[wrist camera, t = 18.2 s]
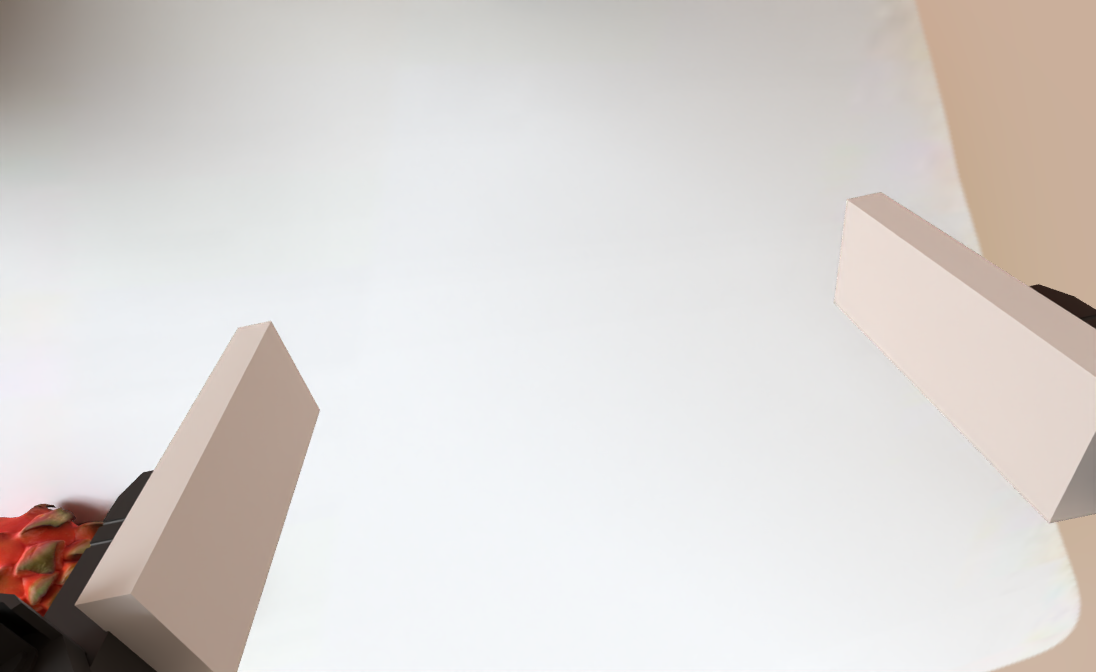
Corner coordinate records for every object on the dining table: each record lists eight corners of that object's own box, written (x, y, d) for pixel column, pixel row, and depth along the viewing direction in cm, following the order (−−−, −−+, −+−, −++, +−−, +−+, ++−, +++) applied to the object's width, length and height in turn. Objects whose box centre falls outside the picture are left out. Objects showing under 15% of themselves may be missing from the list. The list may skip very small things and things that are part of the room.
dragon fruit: (175, 507, 41) (46, 552, 44) (54, 459, 35) (-89, 515, 37) (138, 640, 36) (-6, 682, 38) (-13, 612, 29) (-175, 665, 32)
